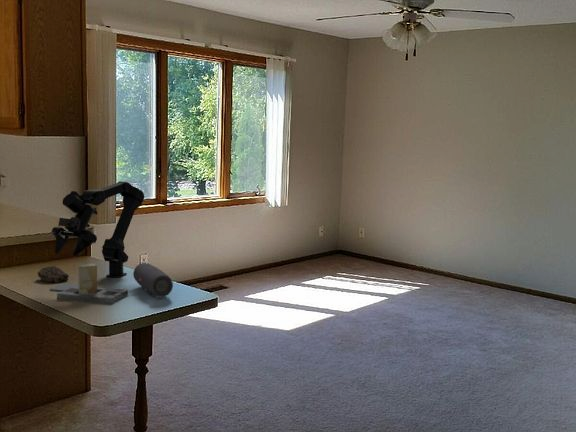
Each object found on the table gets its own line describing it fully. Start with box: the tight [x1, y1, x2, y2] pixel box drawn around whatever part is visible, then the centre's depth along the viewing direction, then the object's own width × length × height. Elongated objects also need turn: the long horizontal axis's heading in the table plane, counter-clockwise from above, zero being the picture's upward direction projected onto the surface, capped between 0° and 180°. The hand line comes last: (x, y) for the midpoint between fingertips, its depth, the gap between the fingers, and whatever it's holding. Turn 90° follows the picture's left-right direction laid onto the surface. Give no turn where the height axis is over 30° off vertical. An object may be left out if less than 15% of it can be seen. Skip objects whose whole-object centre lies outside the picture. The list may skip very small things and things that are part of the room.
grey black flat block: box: [56, 286, 129, 305], centre depth 227 cm, size 12×22×2 cm, turn 77°
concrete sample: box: [37, 265, 70, 283], centre depth 251 cm, size 12×10×5 cm
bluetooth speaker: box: [132, 262, 174, 298], centre depth 234 cm, size 23×9×10 cm, turn 30°
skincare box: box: [77, 262, 98, 295], centre depth 227 cm, size 6×4×12 cm
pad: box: [49, 282, 79, 292], centre depth 238 cm, size 9×9×1 cm
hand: (64, 254), depth 233 cm, fingers open, 9 cm apart
